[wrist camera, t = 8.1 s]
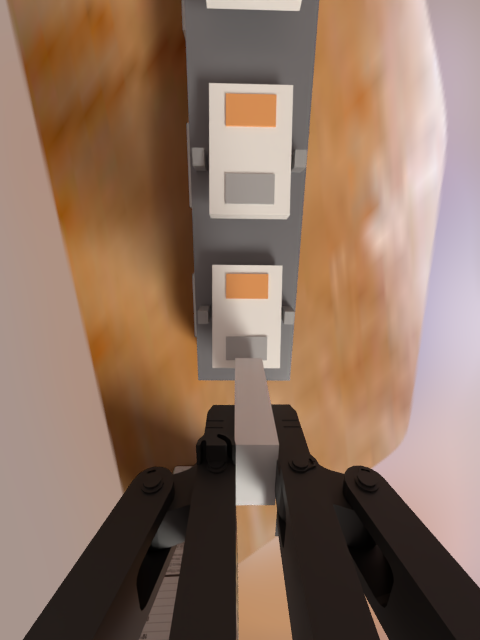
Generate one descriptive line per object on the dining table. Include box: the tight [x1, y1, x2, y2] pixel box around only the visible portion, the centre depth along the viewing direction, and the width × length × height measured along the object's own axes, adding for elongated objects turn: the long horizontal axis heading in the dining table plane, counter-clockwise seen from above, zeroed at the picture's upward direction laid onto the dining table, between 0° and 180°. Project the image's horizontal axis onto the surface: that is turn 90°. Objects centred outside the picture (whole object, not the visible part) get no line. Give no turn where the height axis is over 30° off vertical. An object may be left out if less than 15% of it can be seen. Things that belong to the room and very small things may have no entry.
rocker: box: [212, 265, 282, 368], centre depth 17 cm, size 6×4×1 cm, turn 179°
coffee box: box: [139, 466, 239, 640], centre depth 22 cm, size 9×6×16 cm
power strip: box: [182, 0, 319, 380], centre depth 17 cm, size 27×7×6 cm, turn 179°
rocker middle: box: [209, 83, 293, 219], centre depth 14 cm, size 6×4×1 cm, turn 179°
